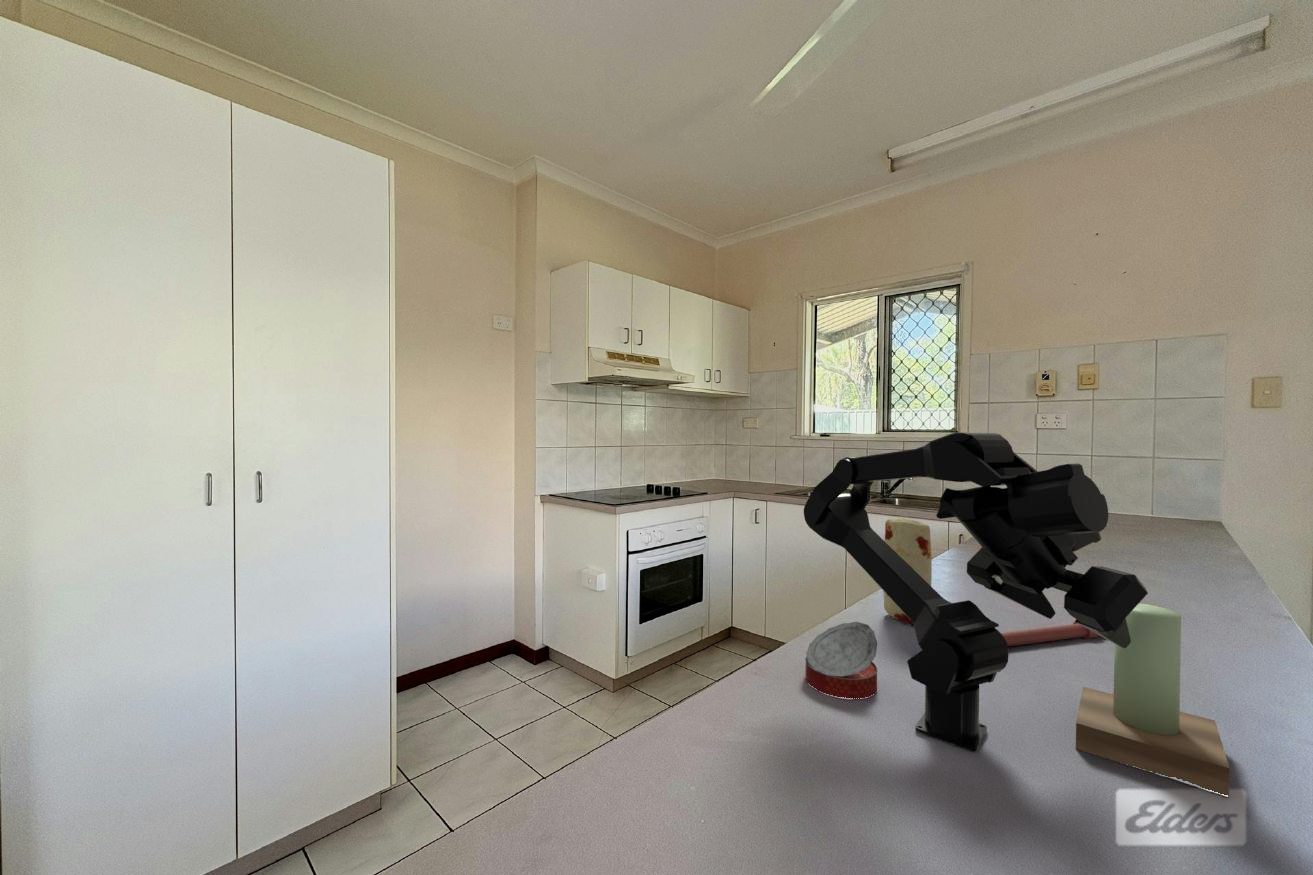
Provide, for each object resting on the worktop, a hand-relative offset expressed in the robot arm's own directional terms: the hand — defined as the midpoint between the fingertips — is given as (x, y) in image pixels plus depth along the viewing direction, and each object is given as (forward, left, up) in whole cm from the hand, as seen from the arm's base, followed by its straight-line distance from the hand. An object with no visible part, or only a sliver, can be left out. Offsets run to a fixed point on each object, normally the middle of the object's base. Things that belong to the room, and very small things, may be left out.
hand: (1086, 629), depth 61 cm
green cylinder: (+4, -5, -11) cm, 12 cm away
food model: (+29, +28, -14) cm, 43 cm away
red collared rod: (+39, +5, -14) cm, 42 cm away
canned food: (-5, +27, -14) cm, 31 cm away
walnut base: (+4, -5, -14) cm, 15 cm away
